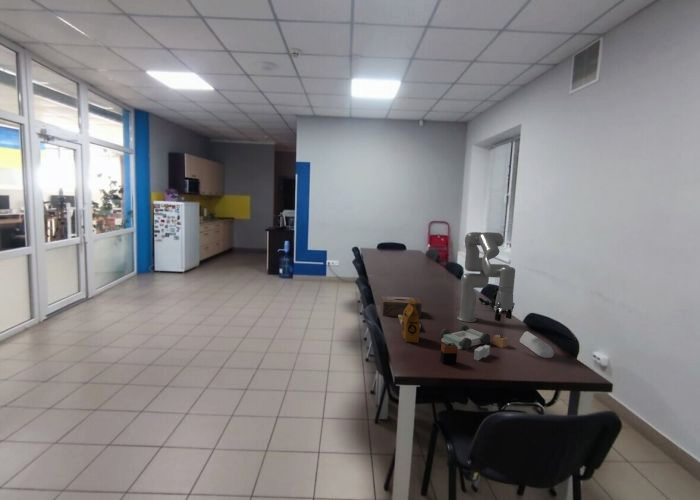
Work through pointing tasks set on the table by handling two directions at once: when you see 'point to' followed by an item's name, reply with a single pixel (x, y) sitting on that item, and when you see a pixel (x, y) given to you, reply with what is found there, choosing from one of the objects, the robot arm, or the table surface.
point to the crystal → (536, 345)
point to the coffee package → (410, 323)
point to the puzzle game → (402, 319)
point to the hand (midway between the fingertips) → (503, 319)
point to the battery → (448, 353)
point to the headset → (492, 299)
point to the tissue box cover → (397, 305)
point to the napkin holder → (481, 352)
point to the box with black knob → (500, 341)
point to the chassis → (465, 337)
